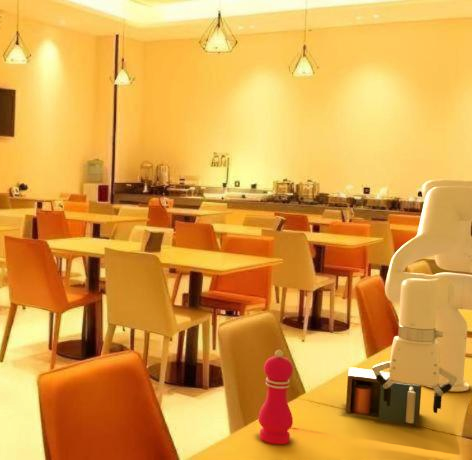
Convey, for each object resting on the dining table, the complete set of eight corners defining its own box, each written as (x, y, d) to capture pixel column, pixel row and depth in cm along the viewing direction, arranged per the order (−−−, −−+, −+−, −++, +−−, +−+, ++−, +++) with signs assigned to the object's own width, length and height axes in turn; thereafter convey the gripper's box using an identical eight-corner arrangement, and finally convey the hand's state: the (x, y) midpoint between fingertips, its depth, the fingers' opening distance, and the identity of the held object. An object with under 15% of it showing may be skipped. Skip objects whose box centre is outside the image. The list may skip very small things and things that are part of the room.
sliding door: (378, 419, 180) (381, 380, 179) (416, 425, 177) (419, 385, 176) (377, 428, 174) (380, 387, 173) (417, 434, 171) (420, 393, 170)
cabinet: (347, 406, 191) (349, 367, 190) (417, 416, 184) (420, 376, 183) (345, 415, 184) (347, 375, 183) (418, 426, 177) (421, 384, 176)
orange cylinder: (353, 407, 187) (354, 383, 187) (370, 409, 186) (372, 386, 185) (352, 412, 184) (354, 387, 183) (370, 414, 182) (371, 390, 182)
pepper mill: (293, 447, 162) (298, 355, 160) (258, 443, 164) (263, 352, 162) (289, 435, 169) (294, 347, 167) (256, 432, 171) (261, 344, 169)
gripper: (458, 334, 170) (453, 408, 172) (375, 326, 177) (370, 397, 179) (461, 342, 163) (455, 419, 165) (374, 332, 170) (369, 406, 172)
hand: (411, 407), depth 172 cm, fingers open, 9 cm apart
